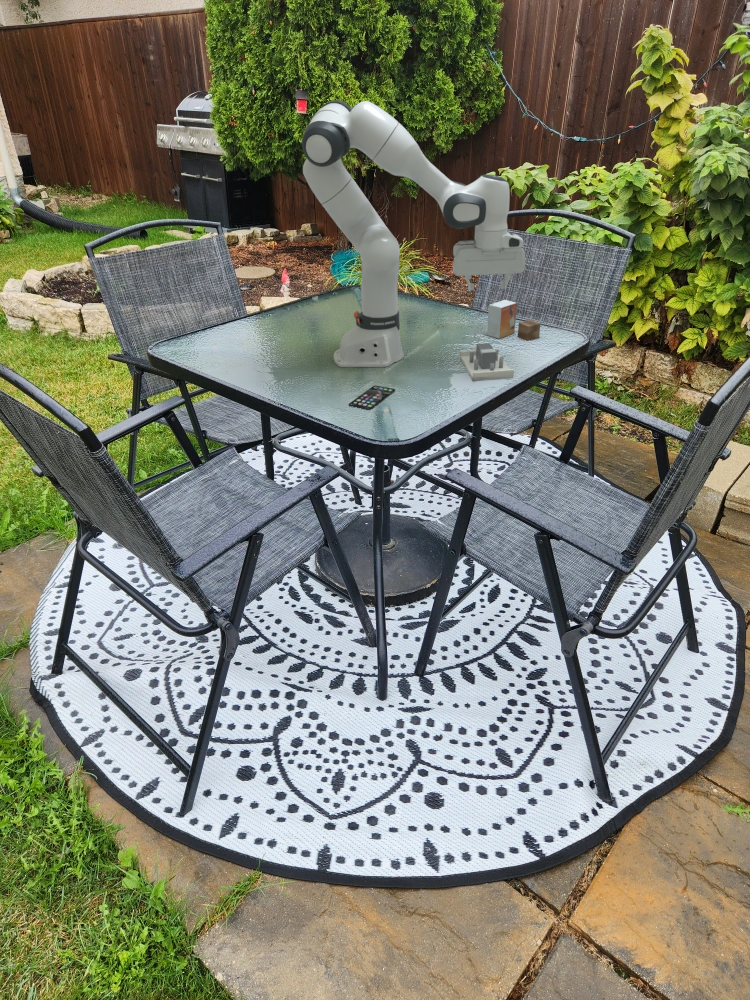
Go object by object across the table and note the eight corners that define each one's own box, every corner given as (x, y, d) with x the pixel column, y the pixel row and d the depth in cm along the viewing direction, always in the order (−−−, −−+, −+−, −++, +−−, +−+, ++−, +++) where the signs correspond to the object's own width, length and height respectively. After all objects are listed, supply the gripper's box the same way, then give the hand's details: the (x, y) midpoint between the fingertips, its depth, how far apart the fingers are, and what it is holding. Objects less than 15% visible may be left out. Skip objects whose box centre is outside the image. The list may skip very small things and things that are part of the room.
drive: (481, 369, 198) (482, 353, 196) (475, 359, 205) (476, 343, 202) (495, 368, 199) (496, 351, 196) (488, 358, 205) (489, 342, 203)
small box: (499, 339, 222) (501, 307, 216) (486, 335, 226) (488, 304, 220) (515, 333, 226) (517, 302, 221) (502, 329, 230) (504, 299, 224)
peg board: (472, 380, 194) (473, 367, 192) (460, 358, 209) (460, 346, 207) (513, 377, 195) (514, 364, 193) (497, 355, 210) (498, 343, 208)
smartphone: (396, 389, 191) (370, 409, 180) (396, 391, 191) (370, 411, 180) (374, 384, 194) (347, 404, 183) (374, 387, 194) (347, 406, 184)
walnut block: (526, 341, 220) (528, 326, 217) (517, 337, 224) (518, 322, 221) (539, 338, 221) (540, 323, 219) (529, 334, 225) (531, 319, 223)
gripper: (455, 243, 182) (453, 294, 189) (529, 240, 183) (524, 291, 191) (451, 238, 187) (449, 288, 195) (523, 235, 188) (518, 285, 196)
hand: (487, 289), depth 193 cm, fingers open, 8 cm apart
